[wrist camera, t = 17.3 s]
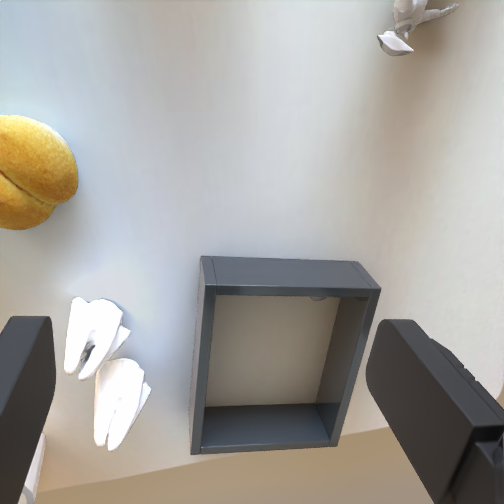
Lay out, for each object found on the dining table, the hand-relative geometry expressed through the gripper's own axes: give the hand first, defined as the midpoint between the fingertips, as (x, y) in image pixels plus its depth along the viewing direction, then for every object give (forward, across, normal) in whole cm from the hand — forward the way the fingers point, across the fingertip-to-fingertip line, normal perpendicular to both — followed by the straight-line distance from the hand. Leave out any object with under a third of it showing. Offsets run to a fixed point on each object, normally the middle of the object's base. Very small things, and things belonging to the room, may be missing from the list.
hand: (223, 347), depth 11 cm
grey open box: (+28, -10, +21) cm, 36 cm away
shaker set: (+28, +6, +21) cm, 36 cm away
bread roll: (+28, +13, +4) cm, 31 cm away
